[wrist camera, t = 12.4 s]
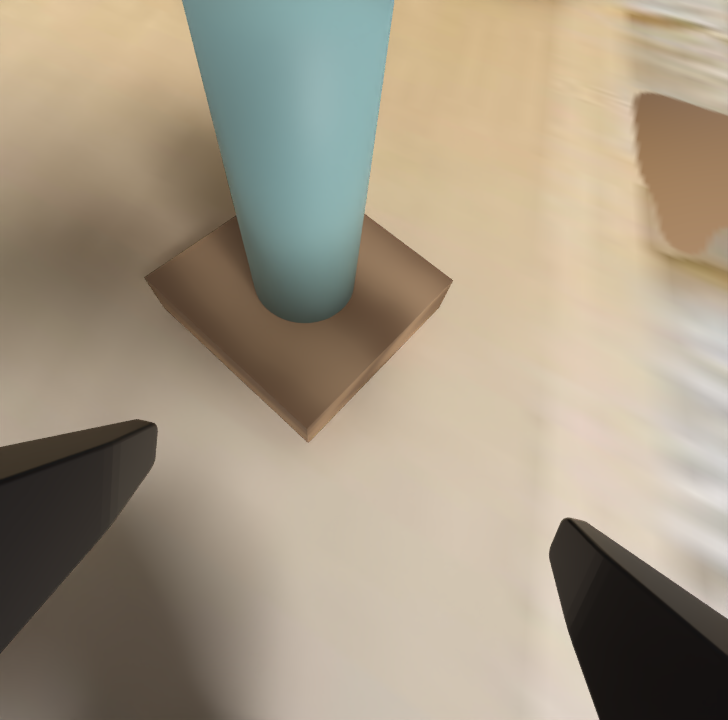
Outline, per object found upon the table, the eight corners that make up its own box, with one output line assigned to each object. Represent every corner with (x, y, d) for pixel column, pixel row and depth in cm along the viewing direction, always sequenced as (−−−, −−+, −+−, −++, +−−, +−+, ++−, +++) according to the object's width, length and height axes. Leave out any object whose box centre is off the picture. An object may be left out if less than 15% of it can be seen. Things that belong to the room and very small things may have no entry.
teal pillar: (264, 332, 21) (192, 54, 9) (245, 249, 23) (166, -69, 11) (366, 311, 22) (423, 40, 10) (339, 234, 24) (360, -69, 12)
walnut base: (308, 442, 21) (306, 429, 19) (163, 307, 24) (144, 277, 21) (438, 307, 26) (453, 280, 23) (306, 204, 28) (305, 169, 26)
